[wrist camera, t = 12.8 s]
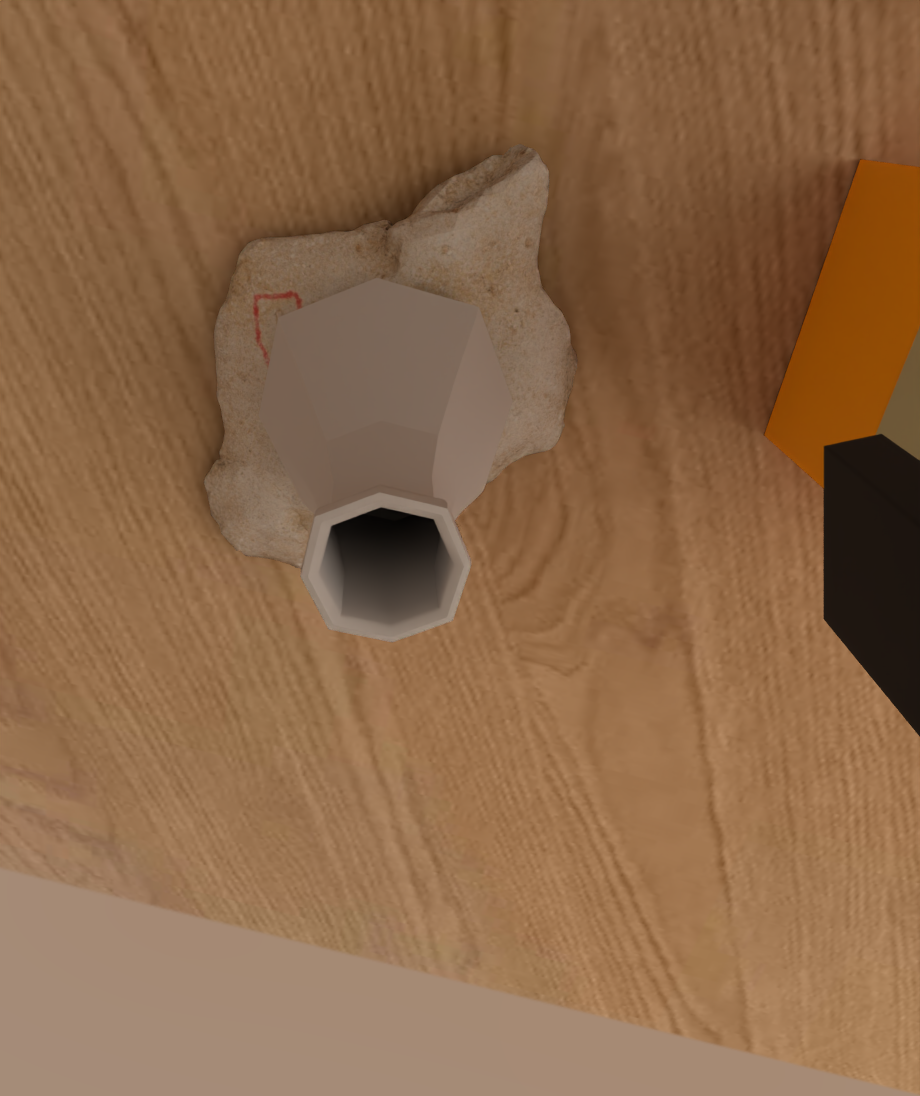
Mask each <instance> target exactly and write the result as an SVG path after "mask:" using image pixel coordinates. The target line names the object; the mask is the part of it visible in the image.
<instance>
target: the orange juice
mask: <svg viewBox="0 0 920 1096" xmlns="http://www.w3.org/2000/svg"><path fill="white" fill-rule="evenodd" d="M878 434H883V435H884V436H886V437H887V438H889V439H890V440H891V441H893V442H894V443H896V444H897V445H898V446H900V447H901V448H903V449H904V450H905V451H907V452H908V453H910V454H911V455H913V456H914V457H915V458H917V459H918V460H920V167H915V166H908V165H900V164H893V163H885V162H878V161H870V160H863V159H860V162H859V165H858V167H857V170H856V173H855V176H854V179H853V182H852V185H851V188H850V190H849V193H848V196H847V199H846V202H845V205H844V208H843V210H842V213H841V216H840V219H839V222H838V225H837V228H836V230H835V233H834V236H833V239H832V242H831V245H830V248H829V251H828V253H827V256H826V259H825V262H824V265H823V268H822V271H821V273H820V276H819V279H818V282H817V285H816V288H815V291H814V293H813V296H812V299H811V302H810V305H809V308H808V311H807V314H806V316H805V319H804V322H803V325H802V328H801V331H800V334H799V336H798V339H797V342H796V345H795V348H794V351H793V354H792V356H791V359H790V362H789V365H788V368H787V371H786V374H785V377H784V379H783V382H782V385H781V388H780V391H779V394H778V397H777V399H776V402H775V405H774V408H773V411H772V414H771V417H770V419H769V422H768V425H767V428H766V431H765V434H764V436H766V437H767V438H768V439H769V440H770V441H771V442H772V443H773V444H774V445H776V446H777V447H778V448H779V449H780V450H781V451H782V452H783V453H785V454H786V455H787V456H788V457H789V458H790V459H791V460H792V461H793V462H795V463H796V464H797V465H798V466H799V467H800V468H801V469H802V470H803V471H805V472H806V473H807V474H808V475H809V476H810V477H811V478H812V479H813V480H815V481H816V482H817V483H818V484H819V485H820V486H821V487H822V488H823V489H824V446H826V445H831V444H836V443H840V442H845V441H850V440H854V439H859V438H864V437H868V436H873V435H878Z"/></svg>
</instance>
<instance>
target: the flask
mask: <svg viewBox="0 0 920 1096" xmlns="http://www.w3.org/2000/svg"><path fill="white" fill-rule="evenodd" d="M512 402H513V400H512V398H511V395H510V392H509V389H508V386H507V384H506V381H505V378H504V375H503V372H502V370H501V367H500V364H499V361H498V358H497V356H496V353H495V350H494V347H493V344H492V342H491V339H490V336H489V333H488V331H487V328H486V325H485V322H484V319H483V317H482V314H481V311H480V308H479V307H477V306H474V305H470V304H467V303H463V302H460V301H456V300H453V299H449V298H446V297H442V296H439V295H435V294H432V293H428V292H425V291H421V290H418V289H414V288H411V287H407V286H404V285H400V284H397V283H393V282H390V281H386V280H383V279H379V278H375V279H372V280H370V281H367V282H365V283H362V284H360V285H357V286H355V287H352V288H350V289H347V290H345V291H343V292H340V293H338V294H335V295H333V296H330V297H328V298H325V299H323V300H320V301H318V302H315V303H313V304H310V305H308V306H305V307H303V308H300V309H298V310H295V311H293V312H290V313H288V314H285V315H283V316H280V317H278V322H277V326H276V331H275V336H274V341H273V346H272V351H271V356H270V361H269V366H268V371H267V376H266V381H265V386H264V391H263V396H262V401H261V406H260V411H259V418H260V420H261V422H262V424H263V425H264V427H265V429H266V431H267V433H268V435H269V437H270V439H271V441H272V443H273V445H274V447H275V449H276V451H277V453H278V455H279V457H280V459H281V461H282V463H283V465H284V467H285V469H286V471H287V473H288V475H289V477H290V479H291V481H292V483H293V485H294V487H295V489H296V490H297V492H298V494H299V496H300V498H301V500H302V502H303V503H304V504H305V506H306V507H307V508H308V509H309V510H310V511H311V512H312V513H314V518H313V522H312V526H311V531H310V535H309V539H308V543H307V547H306V551H305V555H304V560H303V564H302V568H301V578H302V580H303V582H304V584H305V586H306V588H307V590H308V591H309V593H310V595H311V597H312V599H313V601H314V603H315V605H316V606H317V608H318V610H319V612H320V614H321V616H322V618H323V620H324V622H325V623H326V625H327V627H328V629H330V630H334V631H339V632H344V633H349V634H354V635H359V636H364V637H369V638H374V639H378V640H383V641H388V642H395V641H397V640H400V639H403V638H406V637H409V636H411V635H414V634H417V633H420V632H423V631H425V630H428V629H431V628H434V627H437V626H439V625H442V624H445V623H448V622H450V621H453V618H454V615H455V612H456V609H457V606H458V603H459V600H460V597H461V594H462V591H463V588H464V585H465V582H466V579H467V576H468V573H469V570H470V567H471V558H470V556H469V554H468V551H467V549H466V546H465V544H464V542H463V539H462V537H461V535H460V532H459V530H458V527H457V525H456V523H455V520H456V518H457V517H458V516H459V515H460V513H461V512H462V511H463V510H464V509H465V508H466V507H467V506H468V505H470V504H471V503H472V502H473V501H474V500H475V499H476V498H477V497H478V496H479V495H480V494H481V493H482V492H483V490H484V488H485V485H486V481H487V478H488V475H489V472H490V469H491V466H492V463H493V460H494V457H495V454H496V451H497V448H498V445H499V442H500V439H501V436H502V433H503V430H504V427H505V424H506V421H507V418H508V415H509V412H510V409H511V405H512Z"/></svg>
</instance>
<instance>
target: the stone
mask: <svg viewBox="0 0 920 1096" xmlns="http://www.w3.org/2000/svg"><path fill="white" fill-rule="evenodd" d="M548 190H549V171H548V168H547V166H546V165H545V164H544V163H543V161H542V160H541V158H540V156H539V155H538V153H537V152H536V151H535V150H534V149H532V148H528V147H526V146H524V145H521V144H519V145H516V146H513V147H511V148H510V149H509V150H508V151H507V152H506V153H505V154H504V155H492V156H490V157H488V158H487V159H485V160H484V161H483V162H481V163H480V164H478V165H476V166H475V167H473V168H471V169H469V170H468V171H466V172H464V173H461V174H458V175H454V176H453V177H451V178H449V179H448V180H446V181H444V182H442V183H440V184H438V185H437V186H436V187H435V188H434V189H432V190H431V191H430V192H429V193H428V194H427V195H426V196H425V197H424V198H423V199H422V200H421V202H420V203H419V204H418V205H417V206H416V208H415V209H414V211H413V213H412V215H411V216H409V217H408V218H406V219H404V220H401V221H398V222H396V223H395V224H394V225H392V223H391V222H390V221H388V220H381V221H377V222H373V223H368V224H364V225H362V226H360V227H358V228H357V229H355V230H352V231H347V232H343V231H330V232H327V233H323V234H311V235H299V236H291V237H267V238H262V239H258V240H255V241H252V242H249V243H248V244H247V245H246V247H245V248H244V249H243V250H242V251H241V253H240V254H239V257H238V261H237V265H236V269H235V272H234V274H233V275H232V278H231V283H230V287H229V291H228V294H227V298H226V300H225V302H224V303H223V305H222V306H221V308H220V311H219V314H218V317H217V321H216V326H215V331H214V345H215V358H216V375H217V382H218V386H217V399H218V402H219V404H220V407H221V412H222V418H223V424H224V428H225V435H224V440H223V445H222V448H221V450H220V452H219V454H220V457H221V458H220V459H218V460H217V461H216V462H215V463H214V464H213V466H212V468H211V470H210V471H209V472H208V473H207V475H206V476H205V479H204V485H205V489H206V491H207V495H208V500H209V505H210V509H211V516H212V517H213V518H214V519H215V521H216V522H217V523H218V524H219V526H220V530H221V533H222V535H223V536H224V537H225V538H226V539H227V540H228V541H229V542H230V543H231V544H232V545H233V547H234V548H235V549H236V550H240V551H241V552H242V553H243V554H244V555H245V556H253V557H261V558H268V559H274V560H278V561H281V562H285V563H288V564H290V565H292V566H295V567H297V568H302V564H303V560H304V555H305V551H306V547H307V543H308V539H309V535H310V531H311V526H312V522H313V518H314V513H312V512H311V511H310V510H309V509H308V508H307V507H306V506H305V504H304V503H303V502H302V500H301V498H300V496H299V494H298V492H297V490H296V489H295V487H294V485H293V483H292V481H291V479H290V477H289V475H288V473H287V471H286V469H285V467H284V465H283V463H282V461H281V459H280V457H279V455H278V453H277V451H276V449H275V447H274V445H273V443H272V441H271V439H270V437H269V435H268V433H267V431H266V429H265V427H264V425H263V424H262V422H261V420H260V418H259V411H260V406H261V401H262V396H263V391H264V386H265V381H266V376H267V371H268V366H269V361H270V356H271V351H272V346H273V341H274V336H275V331H276V326H277V322H278V317H280V316H283V315H285V314H288V313H290V312H293V311H295V310H298V309H300V308H303V307H305V306H308V305H310V304H313V303H315V302H318V301H320V300H323V299H325V298H328V297H330V296H333V295H335V294H338V293H340V292H343V291H345V290H347V289H350V288H352V287H355V286H357V285H360V284H362V283H365V282H367V281H370V280H372V279H375V278H379V279H383V280H386V281H390V282H393V283H397V284H400V285H404V286H407V287H411V288H414V289H418V290H421V291H425V292H428V293H432V294H435V295H439V296H442V297H446V298H449V299H453V300H456V301H460V302H463V303H467V304H470V305H474V306H477V307H479V308H480V311H481V314H482V317H483V319H484V322H485V325H486V328H487V331H488V333H489V336H490V339H491V342H492V344H493V347H494V350H495V353H496V356H497V358H498V361H499V364H500V367H501V370H502V372H503V375H504V378H505V381H506V384H507V386H508V389H509V392H510V395H511V398H512V400H513V402H512V405H511V409H510V412H509V415H508V418H507V421H506V424H505V427H504V430H503V433H502V436H501V439H500V442H499V445H498V448H497V451H496V454H495V457H494V460H493V463H492V466H491V469H490V472H489V475H488V478H487V481H486V484H487V483H489V482H491V481H493V480H494V479H495V478H496V477H497V476H498V475H499V474H500V473H501V472H502V470H503V469H505V468H506V467H507V466H508V465H509V464H510V463H512V462H514V461H516V460H518V459H520V458H522V457H523V456H525V455H530V454H534V453H539V452H544V451H547V450H549V449H551V448H552V447H554V446H555V445H556V443H557V441H558V440H559V438H560V435H561V432H562V429H563V428H564V426H565V425H564V421H563V420H564V416H565V407H566V404H567V401H568V398H569V395H570V392H571V389H572V387H573V378H574V375H575V372H576V369H577V355H576V352H575V350H574V349H573V348H572V346H571V339H570V331H569V326H568V324H567V322H566V320H565V318H564V316H563V314H562V312H561V311H560V309H558V308H557V307H556V306H555V305H554V303H553V302H552V300H551V299H550V297H549V296H548V295H547V293H546V292H545V291H544V289H543V287H542V285H541V280H540V273H539V270H538V263H537V256H538V250H539V242H540V235H541V228H542V223H543V217H544V215H545V212H546V209H547V200H548Z"/></svg>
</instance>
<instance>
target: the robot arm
mask: <svg viewBox="0 0 920 1096" xmlns="http://www.w3.org/2000/svg"><path fill="white" fill-rule="evenodd" d="M824 620H825V621H826V622H827V624H828V625H829V626H830V627H831V628H832V630H833V631H834V632H835V633H836V635H837V636H838V637H839V638H840V639H841V641H842V642H843V643H844V644H845V646H846V647H847V648H848V649H849V650H850V652H851V653H852V654H853V655H854V657H855V658H856V659H857V660H858V661H859V663H860V664H861V665H862V666H863V668H864V669H865V670H866V671H867V673H868V674H869V675H870V676H871V677H872V679H873V680H874V681H875V682H876V684H877V685H878V686H879V687H880V688H881V690H882V691H883V692H884V693H885V695H886V696H887V697H888V698H889V699H890V701H891V702H892V703H893V704H894V706H895V707H896V708H897V709H898V710H899V712H900V713H901V714H902V715H903V717H904V718H905V719H906V720H907V721H908V723H909V724H910V725H911V726H912V728H913V729H914V730H915V731H916V732H917V734H918V735H919V736H920V460H918V459H917V458H915V457H914V456H913V455H911V454H910V453H908V452H907V451H905V450H904V449H903V448H901V447H900V446H898V445H897V444H896V443H894V442H893V441H891V440H890V439H889V438H887V437H886V436H884V435H883V434H878V435H873V436H868V437H864V438H859V439H854V440H850V441H845V442H840V443H836V444H831V445H826V446H824Z"/></svg>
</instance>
